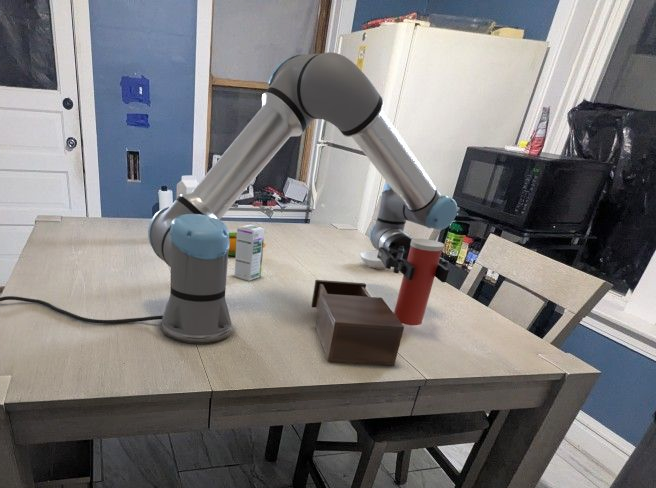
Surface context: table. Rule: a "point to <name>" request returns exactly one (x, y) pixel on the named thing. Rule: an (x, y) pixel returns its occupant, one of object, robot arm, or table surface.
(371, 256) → the spoon rest
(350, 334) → the cabinet
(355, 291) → the drawer
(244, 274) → the syrup box
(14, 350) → the table surface
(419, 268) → the crisps tube
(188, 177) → the milk
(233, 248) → the corn
